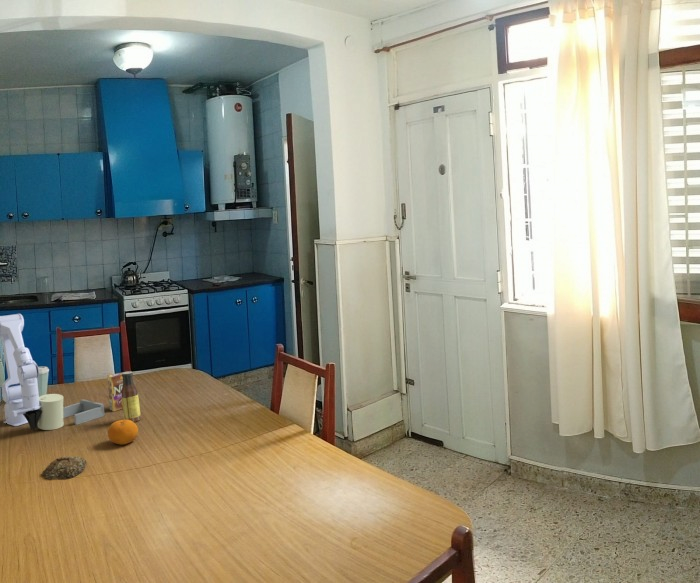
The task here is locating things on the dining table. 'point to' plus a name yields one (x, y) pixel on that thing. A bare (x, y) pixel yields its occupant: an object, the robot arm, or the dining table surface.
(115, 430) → the fruit
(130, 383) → the sauce bottle
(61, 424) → the can
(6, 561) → the dining table surface
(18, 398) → the robot arm
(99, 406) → the box
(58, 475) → the rough brown rock
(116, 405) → the candy box
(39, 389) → the disposable coffee cup
